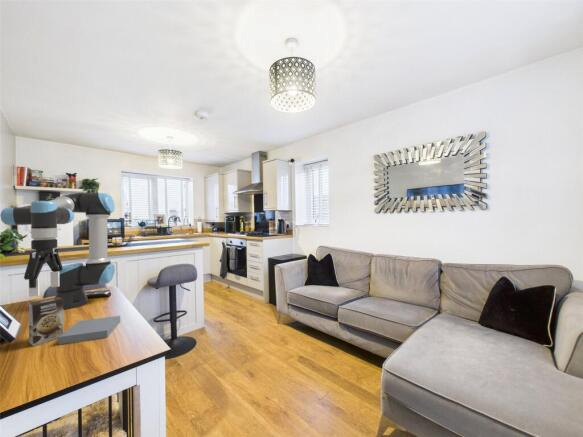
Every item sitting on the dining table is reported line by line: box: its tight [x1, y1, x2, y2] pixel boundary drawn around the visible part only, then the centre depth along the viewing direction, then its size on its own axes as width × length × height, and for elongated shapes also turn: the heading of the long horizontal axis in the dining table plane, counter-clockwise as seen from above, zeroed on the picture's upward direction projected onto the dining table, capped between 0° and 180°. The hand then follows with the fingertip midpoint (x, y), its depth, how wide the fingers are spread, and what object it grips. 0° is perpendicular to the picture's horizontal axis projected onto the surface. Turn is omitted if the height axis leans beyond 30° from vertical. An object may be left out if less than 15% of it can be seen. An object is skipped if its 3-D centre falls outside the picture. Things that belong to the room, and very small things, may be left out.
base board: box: [58, 315, 121, 346], centre depth 106 cm, size 16×16×3 cm
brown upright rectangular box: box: [28, 296, 64, 347], centre depth 100 cm, size 9×6×16 cm
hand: (45, 291), depth 100 cm, fingers open, 13 cm apart
